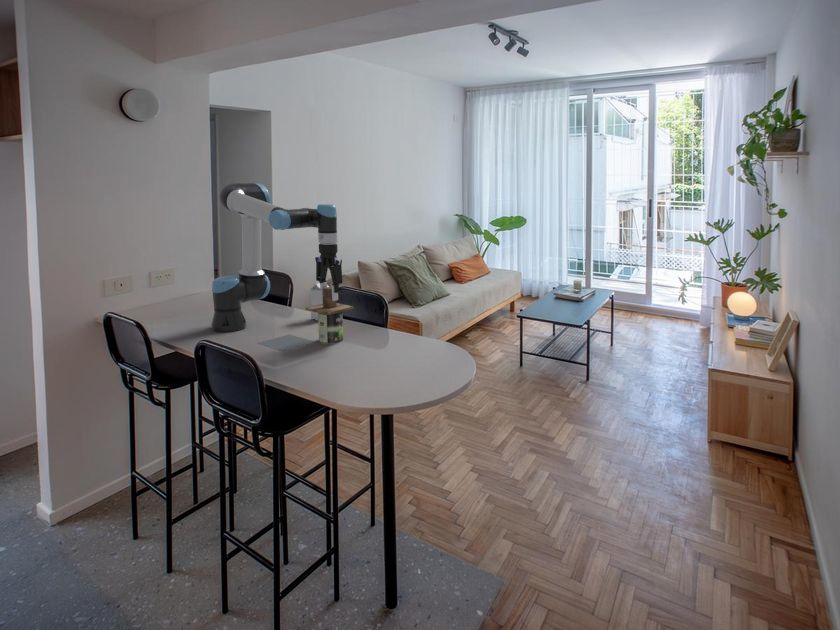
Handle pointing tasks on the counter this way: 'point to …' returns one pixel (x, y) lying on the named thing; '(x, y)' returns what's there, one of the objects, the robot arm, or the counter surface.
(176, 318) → the counter surface
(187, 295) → the counter surface
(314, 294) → the milk carton
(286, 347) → the mat
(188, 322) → the counter surface
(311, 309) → the wooden peg stand
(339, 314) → the coffee can
